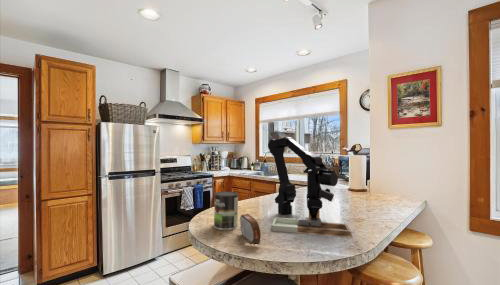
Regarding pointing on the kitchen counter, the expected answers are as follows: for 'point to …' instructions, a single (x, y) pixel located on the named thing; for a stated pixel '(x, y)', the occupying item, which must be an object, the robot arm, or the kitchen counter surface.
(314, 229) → the channel board
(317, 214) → the rake block
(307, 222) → the chip
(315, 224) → the chip
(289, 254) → the kitchen counter surface
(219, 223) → the coffee can
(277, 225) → the tray
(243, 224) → the grey and brown slab
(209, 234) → the kitchen counter surface
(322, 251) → the kitchen counter surface
